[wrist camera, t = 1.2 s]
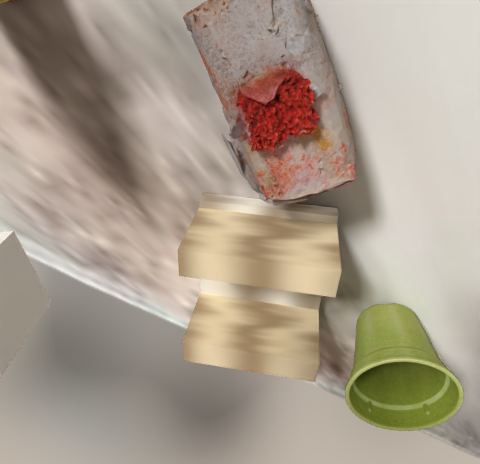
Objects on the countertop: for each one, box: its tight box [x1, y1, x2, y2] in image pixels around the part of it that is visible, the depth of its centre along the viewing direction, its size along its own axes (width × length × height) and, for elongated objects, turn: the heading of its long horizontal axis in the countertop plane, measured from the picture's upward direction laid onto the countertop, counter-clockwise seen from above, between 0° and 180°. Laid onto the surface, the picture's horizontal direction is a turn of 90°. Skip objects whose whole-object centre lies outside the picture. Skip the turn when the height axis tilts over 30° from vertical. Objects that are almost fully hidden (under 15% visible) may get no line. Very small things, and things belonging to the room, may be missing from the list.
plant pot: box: [345, 303, 464, 431], centre depth 37 cm, size 9×9×9 cm
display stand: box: [178, 193, 342, 382], centre depth 35 cm, size 12×14×8 cm
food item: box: [183, 0, 356, 206], centre depth 25 cm, size 14×8×10 cm, turn 26°
